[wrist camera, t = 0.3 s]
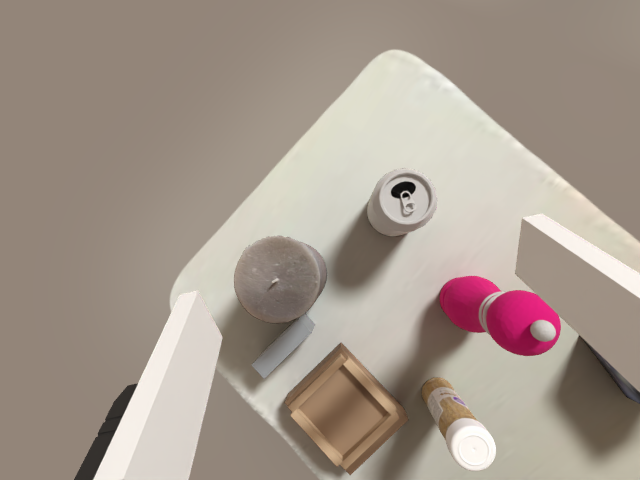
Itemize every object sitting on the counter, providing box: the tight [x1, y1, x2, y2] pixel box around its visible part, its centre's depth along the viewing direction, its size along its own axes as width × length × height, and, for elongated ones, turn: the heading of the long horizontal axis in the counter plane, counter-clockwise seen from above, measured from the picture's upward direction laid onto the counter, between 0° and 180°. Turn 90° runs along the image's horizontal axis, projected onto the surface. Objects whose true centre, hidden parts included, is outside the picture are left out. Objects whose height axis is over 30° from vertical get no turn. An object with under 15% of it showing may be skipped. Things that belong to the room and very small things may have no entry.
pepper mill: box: [440, 276, 561, 356], centre depth 36 cm, size 7×7×20 cm
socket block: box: [285, 343, 408, 475], centre depth 44 cm, size 13×11×4 cm
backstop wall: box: [252, 313, 315, 379], centre depth 45 cm, size 2×9×5 cm, turn 134°
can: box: [367, 168, 437, 236], centre depth 41 cm, size 8×8×12 cm
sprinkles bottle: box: [422, 378, 496, 471], centre depth 39 cm, size 5×5×14 cm
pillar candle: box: [234, 236, 327, 324], centre depth 41 cm, size 10×10×15 cm
